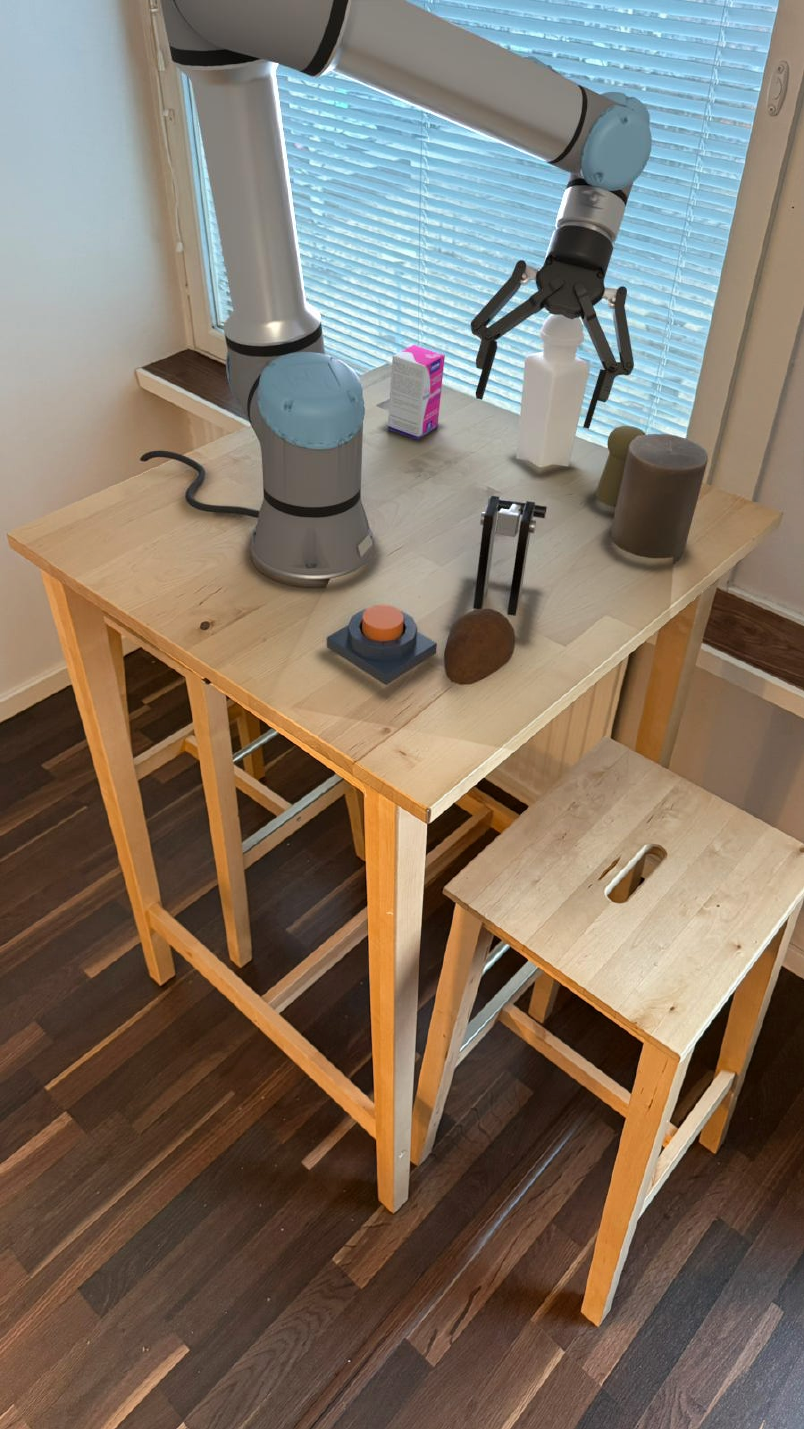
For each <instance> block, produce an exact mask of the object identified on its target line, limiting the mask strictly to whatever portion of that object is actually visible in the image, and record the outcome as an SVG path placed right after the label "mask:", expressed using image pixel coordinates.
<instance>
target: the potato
mask: <svg viewBox="0 0 804 1429" xmlns="http://www.w3.org/2000/svg"><path fill="white" fill-rule="evenodd" d="M515 645H516V634H515V628H514V627H513V625H512V623H511V622H510V620H509V618H507V617H506V616H505V615H503V613H501V612H500V611H498V610H494V609H491V608H482V609H474V610H471V611H469V612H467V613H464V614H463V615H462V616H460V617H459V618H458V619H457V620H456V621H455V622H454V623H453V624H452V626H451V629H450V631H449V634H448V637H447V640H446V643H445V647H444V652H443V661H444V668H445V673H446V675H447V677H448V678H449V680H451V682H452V683H455V684H458V685H459V686H463V685H474V684H475V683H477V682H480V681H482V680H484V679H486V678H488V677H489V676H491V675H492V674H494V673H495V672H497V671H499V670H500V669H501V668H503V666H505V665H506V664H508V663H509V661H510V660H511V658H512V656H513V655H514V651H515Z"/></svg>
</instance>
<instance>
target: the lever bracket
mask: <svg viewBox="0 0 804 1429" xmlns="http://www.w3.org/2000/svg"><path fill="white" fill-rule="evenodd" d="M489 498H490V499H489ZM489 498H488V500H489V502H488V501H487V505H486V508H485V511H482V512H481V516H480V521H479V524H480V526H482V531H481V539H480V540H481V541H480V546H479V547H480V548H479V556H478V565H477V572H476V582H475V590H474V598H473V607H472V608H473V609H474V610H476V609H483V606H484V603H485V600H486V597H487V593H488V590H489V582H490V575H491V567H492V559H493V550H494V543H495V536H496V534H495V532H496V526H497V520H498V513H499V511H498V505H499V499H500V496H497V495H490V496H489ZM525 503H526V504H525V508H524V511H523V515H521V517H520V522H519V529H518V536H517V544H516V552H515V557H514V565H513V572H512V579H511V585H510V591H509V599H508V606H507V613H506V614H507V615H509V616H513V617H516V616H517V613H518V608H519V605H520V600H521V596H522V590H523V583H524V578H525V573H526V572H525V571H526V565H527V559H528V552H529V544H530V539H531V534H534V533H535V531H536V525H537V521H536V519H535V520H533V519H534V517H533V513H534V507H535V505H536V502H535V501H529V500H526V501H525Z"/></svg>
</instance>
